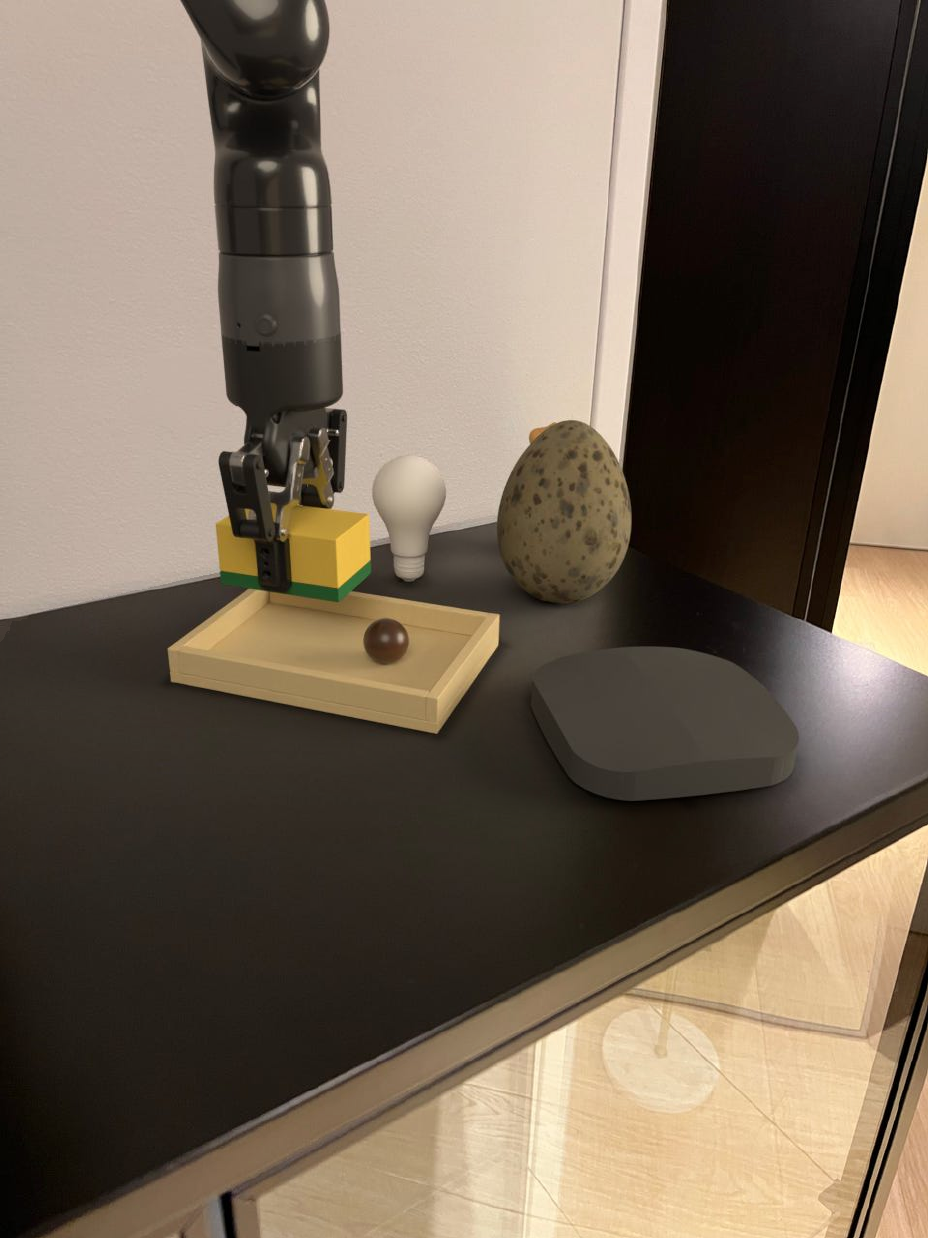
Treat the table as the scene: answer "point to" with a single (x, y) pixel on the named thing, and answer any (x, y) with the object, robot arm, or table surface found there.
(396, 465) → the lightbulb
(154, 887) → the table surface
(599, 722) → the media streaming box
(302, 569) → the sponge
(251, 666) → the tray
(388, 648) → the ball
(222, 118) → the robot arm
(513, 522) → the decorative egg
